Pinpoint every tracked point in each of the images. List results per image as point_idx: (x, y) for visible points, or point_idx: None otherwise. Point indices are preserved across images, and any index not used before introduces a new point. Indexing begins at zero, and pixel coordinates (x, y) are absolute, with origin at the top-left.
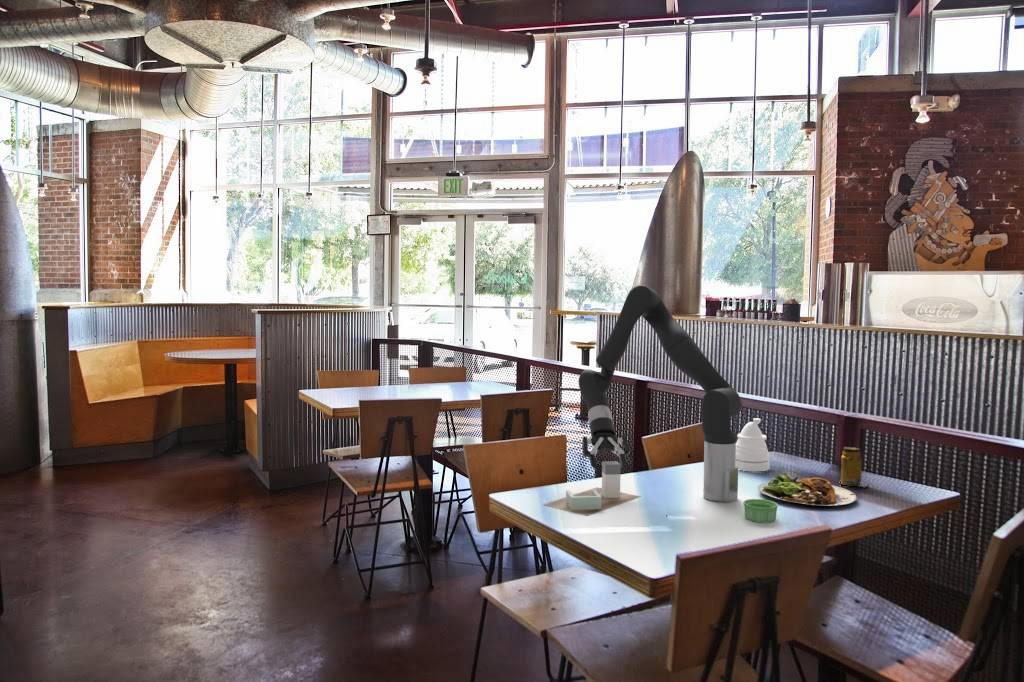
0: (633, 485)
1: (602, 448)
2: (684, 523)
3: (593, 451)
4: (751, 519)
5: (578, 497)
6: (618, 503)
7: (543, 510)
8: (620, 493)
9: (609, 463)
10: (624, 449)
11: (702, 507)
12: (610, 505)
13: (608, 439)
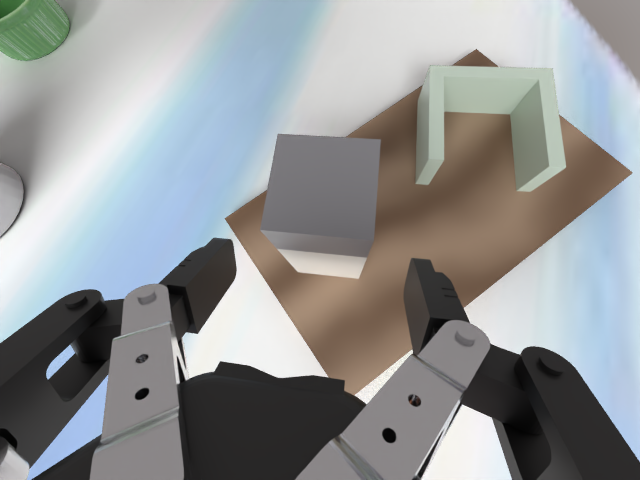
0: None
1: (330, 381)
2: (226, 20)
3: (452, 345)
4: (66, 17)
5: (521, 68)
6: None
7: None
8: (280, 272)
9: (342, 166)
10: (63, 397)
11: (96, 127)
12: (374, 132)
13: (175, 473)
